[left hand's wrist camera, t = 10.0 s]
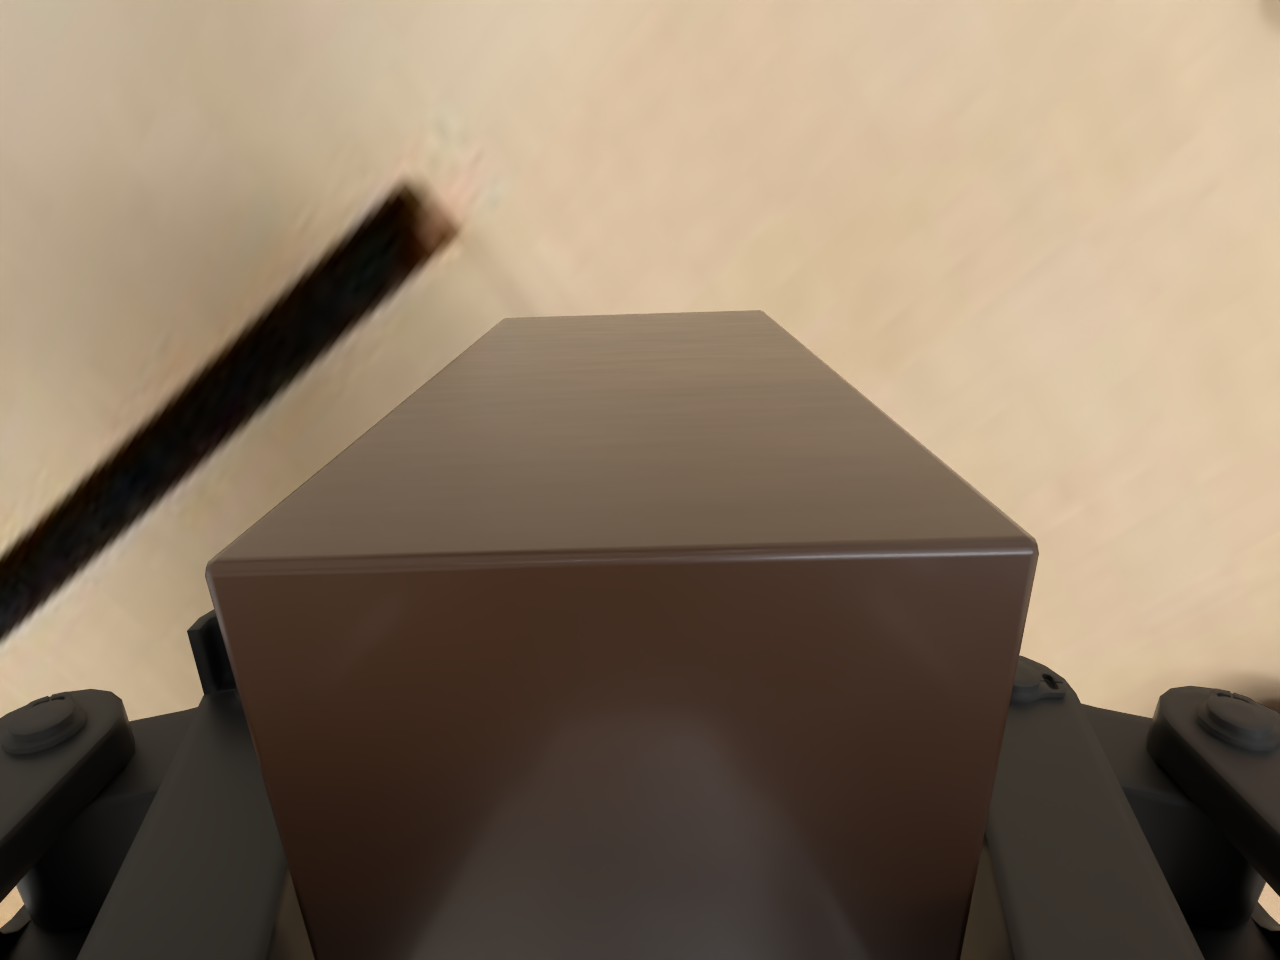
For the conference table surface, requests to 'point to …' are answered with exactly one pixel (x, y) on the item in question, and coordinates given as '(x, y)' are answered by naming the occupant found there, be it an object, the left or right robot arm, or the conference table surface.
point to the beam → (630, 659)
